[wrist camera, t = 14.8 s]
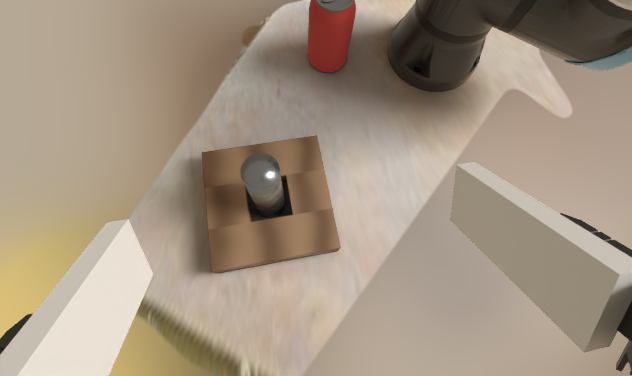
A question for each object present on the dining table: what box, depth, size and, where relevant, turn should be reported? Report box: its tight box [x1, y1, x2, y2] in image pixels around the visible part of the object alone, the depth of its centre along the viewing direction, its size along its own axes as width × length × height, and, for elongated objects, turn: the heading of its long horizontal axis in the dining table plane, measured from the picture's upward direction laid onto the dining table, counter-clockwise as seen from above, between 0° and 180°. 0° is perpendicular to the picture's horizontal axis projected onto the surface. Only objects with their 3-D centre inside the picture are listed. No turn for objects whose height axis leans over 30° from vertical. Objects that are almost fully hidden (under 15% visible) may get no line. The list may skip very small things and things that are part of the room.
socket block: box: [202, 136, 341, 273], centre depth 42 cm, size 16×16×4 cm
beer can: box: [308, 0, 356, 72], centre depth 47 cm, size 7×7×12 cm
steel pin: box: [240, 153, 285, 218], centre depth 37 cm, size 4×4×12 cm
